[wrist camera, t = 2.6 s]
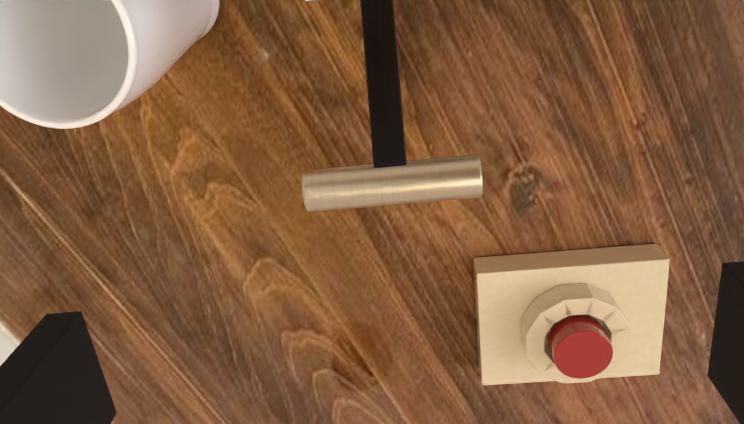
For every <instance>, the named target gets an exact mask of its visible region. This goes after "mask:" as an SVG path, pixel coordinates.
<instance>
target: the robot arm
mask: <svg viewBox="0 0 744 424" xmlns="http://www.w3.org/2000/svg"><path fill="white" fill-rule="evenodd" d="M708 377H709V378H710V380H711V381H712V383H713V384H714V386H715V387H716V389H717V390H718V392H719V393H720V395H721V396H722V398H723V399H724V400H725V402H726V403H727V405H728V406H729V408H730V409H731V411H732V412H733V414H734V415H735V417H736V418H737V420H738V421H739V422H740V424H744V262H731V263H722V271H721V279H720V286H719V294H718V301H717V309H716V316H715V324H714V331H713V339H712V347H711V354H710V362H709V369H708ZM116 413H117V412H116V409H115V407H114V404H113V401H112V398H111V395H110V392H109V389H108V387H107V384H106V381H105V378H104V375H103V372H102V369H101V367H100V364H99V361H98V358H97V355H96V352H95V349H94V347H93V344H92V341H91V338H90V335H89V332H88V329H87V327H86V324H85V321H84V318H83V315H82V312H68V313H54V314H46V315H45V317H44V318H43V319H42V320H41V321H40V322H39V323H38V324H37V326H36V327H35V328H34V329H33V330H32V331H31V332H30V334H29V335H28V336H27V337H26V338H25V339H24V340H23V341H22V343H21V344H20V345H19V346H18V347H17V348H16V349H15V350H14V352H13V353H12V354H11V355H10V356H9V357H8V358H7V359H6V361H5V362H4V363H3V364H2V365H1V366H0V424H110V423H111V422H112V420H113V418H114V416H115V415H116Z"/></svg>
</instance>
